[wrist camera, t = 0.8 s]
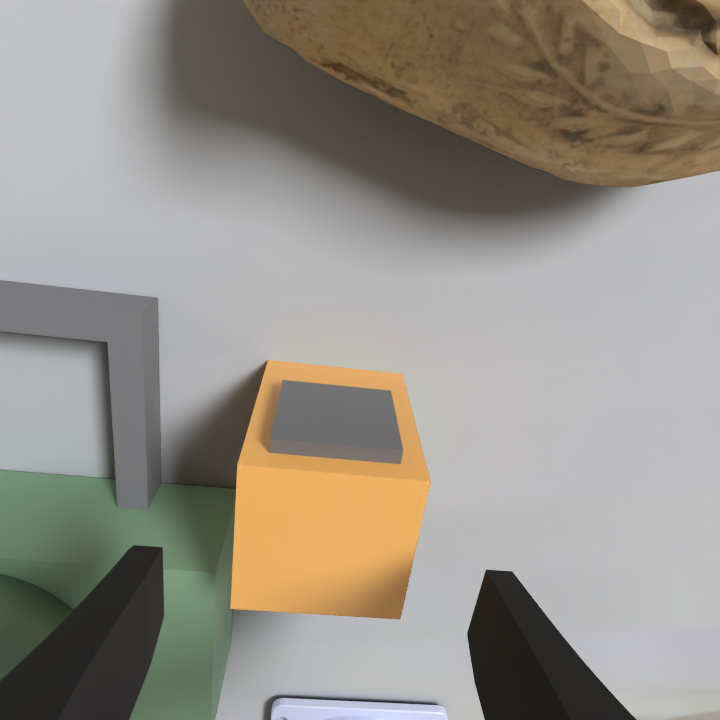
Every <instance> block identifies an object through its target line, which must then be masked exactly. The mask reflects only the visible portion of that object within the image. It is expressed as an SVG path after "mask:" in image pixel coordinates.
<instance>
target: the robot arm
mask: <svg viewBox="0 0 720 720" xmlns="http://www.w3.org/2000/svg"><path fill="white" fill-rule="evenodd" d="M163 618H164V580H163V547H153V546H139V545H134V546H132V547H131V548H129V549H128V550H127V552H126V553H125V554H124V555H123V556H122V557H121V559H120V560H119V561H118V562H117V563H116V564H115V565H114V567H113V568H112V569H111V570H110V571H109V572H108V573H107V575H106V576H105V577H104V578H103V579H102V580H101V581H100V582H99V583H98V584H97V586H96V587H95V588H94V589H93V590H92V591H91V592H90V593H89V594H88V595H87V596H86V597H85V599H84V600H83V601H82V602H81V603H80V604H79V605H78V606H77V607H76V608H75V609H74V610H73V611H72V612H71V613H70V614H69V615H68V616H67V617H66V618H65V619H64V620H63V621H62V622H61V623H60V624H59V625H58V626H57V627H56V628H55V629H54V630H53V631H52V632H51V633H50V634H49V635H48V636H47V637H46V638H45V639H44V640H43V641H42V642H41V643H40V644H39V645H38V646H37V647H36V648H34V649H33V650H32V651H31V652H30V653H29V654H28V655H27V656H26V657H25V658H24V659H23V660H22V661H21V662H20V663H19V664H18V665H16V666H15V667H14V668H13V669H12V670H11V671H10V672H9V673H8V674H6V675H5V676H4V677H3V678H2V679H1V680H0V720H129V719H130V716H131V714H132V711H133V709H134V706H135V704H136V701H137V698H138V696H139V693H140V691H141V688H142V686H143V683H144V681H145V678H146V675H147V673H148V670H149V668H150V665H151V662H152V658H153V655H154V651H155V648H156V644H157V641H158V637H159V633H160V630H161V626H162V622H163ZM467 635H468V642H469V649H470V656H471V662H472V668H473V674H474V680H475V684H476V688H477V692H478V696H479V700H480V703H481V707H482V711H483V714H484V718H485V720H636V719H635V718H634V717H633V716H632V715H631V714H630V713H629V712H628V710H627V709H626V708H625V707H624V706H623V705H622V704H621V703H620V702H619V701H618V700H617V699H616V698H615V697H614V695H613V694H612V693H611V692H610V691H609V690H608V689H607V688H606V687H605V686H604V684H603V683H602V682H601V681H600V680H599V679H598V678H597V677H596V676H595V674H594V673H593V672H592V671H591V670H590V669H589V667H588V666H587V665H586V664H585V663H584V662H583V660H582V659H581V658H580V657H579V656H578V654H577V653H576V652H575V651H574V650H573V648H572V647H571V646H570V645H569V643H568V642H567V641H566V640H565V639H564V637H563V636H562V635H561V634H560V632H559V631H558V630H557V629H556V627H555V626H554V625H553V624H552V622H551V621H550V620H549V618H548V617H547V616H546V615H545V613H544V612H543V611H542V610H541V608H540V607H539V606H538V604H537V603H536V602H535V600H534V599H533V598H532V597H531V595H530V594H529V593H528V591H527V590H526V589H525V588H524V586H523V585H522V584H521V582H520V581H519V580H518V579H517V577H516V576H515V575H514V573H513V572H511V571H496V570H486V572H485V575H484V579H483V582H482V585H481V589H480V592H479V596H478V599H477V602H476V606H475V609H474V613H473V616H472V619H471V623H470V626H469V629H468V633H467ZM271 720H447V713H446V710H445V708H444V707H442V706H439V705H424V704H403V703H382V702H360V701H339V700H318V699H297V698H279V699H277V700H275V701H274V702H273V704H272V710H271Z"/></svg>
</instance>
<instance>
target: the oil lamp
mask: <svg viewBox="0 0 720 720" xmlns="http://www.w3.org/2000/svg"><path fill="white" fill-rule="evenodd" d="M242 1H243V3H244V5H245V7H246V8H247V10H248V11H249V12H250V14H251V15H252V16H253V18H254V19H255V21H256V22H257V23H258V25H259V26H260V27H261V29H262V30H263V31H264V32H265V33H266V34H267V35H269V36H271V37H272V38H274V39H276V40H277V41H279V42H281V43H282V44H284V45H286V46H287V47H289V48H290V49H291V50H293V51H294V52H295V53H296V54H298V55H299V56H300V57H301V58H303V59H304V60H306V61H307V62H309V63H311V64H313V65H314V66H316V67H318V68H320V69H321V70H323V71H325V72H326V73H328V74H330V75H332V76H333V77H335V78H337V79H339V80H340V81H342V82H345V83H347V84H349V85H351V86H353V87H355V88H358V89H360V90H362V91H364V92H366V93H368V94H370V95H373V96H375V97H377V98H379V99H381V100H383V101H385V102H387V103H389V104H391V105H393V106H395V107H397V108H399V109H401V110H403V111H406V112H408V113H410V114H413V115H415V116H418V117H420V118H422V119H425V120H427V121H429V122H431V123H434V124H436V125H438V126H440V127H443V128H445V129H447V130H449V131H452V132H454V133H456V134H458V135H460V136H463V137H465V138H467V139H469V140H472V141H474V142H476V143H478V144H480V145H483V146H485V147H487V148H489V149H491V150H493V151H495V152H498V153H500V154H502V155H504V156H507V157H509V158H511V159H513V160H516V161H518V162H520V163H523V164H525V165H528V166H531V167H533V168H536V169H539V170H542V171H546V172H548V173H550V174H552V175H554V176H556V177H558V178H561V179H564V180H567V181H573V182H579V183H585V184H592V185H599V186H609V187H637V186H643V185H649V184H654V183H659V182H665V181H670V180H676V179H681V178H686V177H691V176H696V175H701V174H706V173H710V172H715V171H720V0H242Z"/></svg>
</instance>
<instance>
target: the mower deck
mask: <svg viewBox="0 0 720 720" xmlns="http://www.w3.org/2000/svg"><path fill="white" fill-rule="evenodd" d="M0 331H3V332H13V333H23V334H33V335H42V336H52V337H62V338H72V339H81V340H91V341H101V342H107V343H108V360H109V377H110V393H111V410H112V426H113V443H114V460H115V476H116V479H106V478H94V477H81V476H69V475H56V474H44V473H32V472H19V471H7V470H0V680H1V679H2V678H3V677H4V676H5V675H6V674H8V673H9V672H10V671H11V670H12V669H13V668H14V667H15V666H16V665H18V664H19V663H20V662H21V661H22V660H23V659H24V658H25V657H26V656H27V655H28V654H29V653H30V652H31V651H32V650H33V649H34V648H36V647H37V646H38V645H39V644H40V643H41V642H42V641H43V640H44V639H45V638H46V637H47V636H48V635H49V634H50V633H51V632H52V631H53V630H54V629H55V628H56V627H57V626H58V625H59V624H60V623H61V622H62V621H63V620H64V619H65V618H66V617H67V616H68V615H69V614H70V613H71V612H72V611H73V610H74V609H75V608H76V607H77V606H78V605H79V604H80V603H81V602H82V601H83V600H84V599H85V597H86V596H87V595H88V594H89V593H90V592H91V591H92V590H93V589H94V588H95V587H96V586H97V584H98V583H99V582H100V581H101V580H102V579H103V578H104V577H105V576H106V575H107V573H108V572H109V571H110V570H111V569H112V568H113V567H114V565H115V564H116V563H117V562H118V561H119V560H120V559H121V557H122V556H123V555H124V554H125V553H126V552H127V550H128V549H129V548H131V547H132V546H134V545H139V546H153V547H163V580H164V618H163V622H162V626H161V630H160V633H159V637H158V641H157V644H156V648H155V651H154V655H153V658H152V662H151V665H150V668H149V670H148V673H147V675H146V678H145V681H144V683H143V686H142V688H141V691H140V693H139V696H138V698H137V701H136V704H135V706H134V709H133V711H132V714H131V716H130V719H129V720H215V717H216V713H217V708H218V703H219V698H220V693H221V688H222V683H223V678H224V673H225V669H226V664H227V659H228V654H229V649H230V644H231V627H232V609H230V608H231V587H232V566H233V545H234V524H235V503H236V489H230V488H218V487H205V486H193V485H180V484H168V483H161V436H160V385H159V334H158V298H154V297H145V296H136V295H127V294H118V293H109V292H100V291H91V290H82V289H73V288H64V287H55V286H46V285H36V284H27V283H18V282H9V281H0Z"/></svg>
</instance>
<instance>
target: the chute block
mask: <svg viewBox="0 0 720 720" xmlns="http://www.w3.org/2000/svg"><path fill="white" fill-rule="evenodd" d="M430 482H431V481H430V477H429V473H428V470H427V466H426V462H425V458H424V454H423V451H422V447H421V443H420V439H419V435H418V432H417V428H416V424H415V420H414V416H413V413H412V409H411V405H410V401H409V397H408V394H407V390H406V386H405V382H404V378H403V375H402V374H399V373H389V372H379V371H369V370H360V369H350V368H340V367H330V366H320V365H311V364H301V363H291V362H281V361H271V360H268V362H267V365H266V369H265V372H264V375H263V379H262V382H261V386H260V389H259V393H258V396H257V399H256V403H255V406H254V410H253V413H252V416H251V420H250V423H249V427H248V430H247V434H246V437H245V440H244V444H243V447H242V451H241V454H240V458H239V461H238V464H237V482H236V503H235V524H234V545H233V566H232V587H231V608H230V609H240V610H256V611H273V612H289V613H305V614H322V615H338V616H354V617H370V618H387V619H400V618H401V614H402V609H403V605H404V600H405V596H406V591H407V587H408V582H409V577H410V573H411V568H412V564H413V559H414V555H415V550H416V546H417V541H418V537H419V532H420V527H421V523H422V518H423V514H424V509H425V505H426V500H427V496H428V491H429V487H430Z"/></svg>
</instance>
